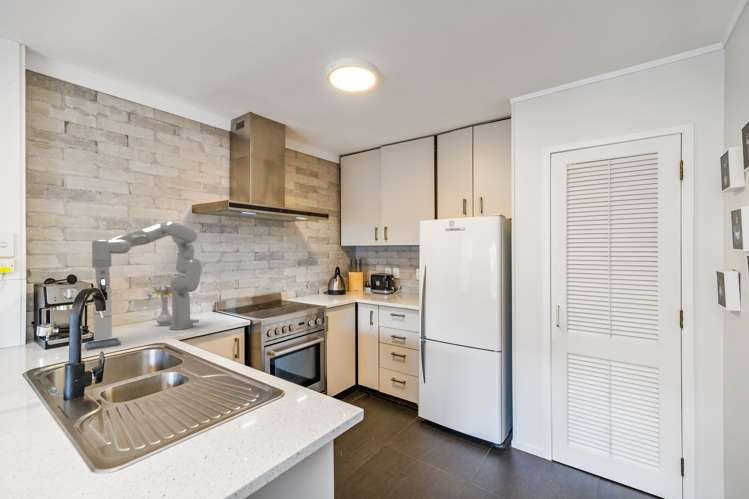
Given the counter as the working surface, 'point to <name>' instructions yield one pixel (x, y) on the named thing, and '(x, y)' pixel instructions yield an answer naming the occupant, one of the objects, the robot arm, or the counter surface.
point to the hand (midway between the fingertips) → (102, 299)
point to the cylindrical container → (103, 320)
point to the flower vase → (163, 305)
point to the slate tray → (102, 343)
